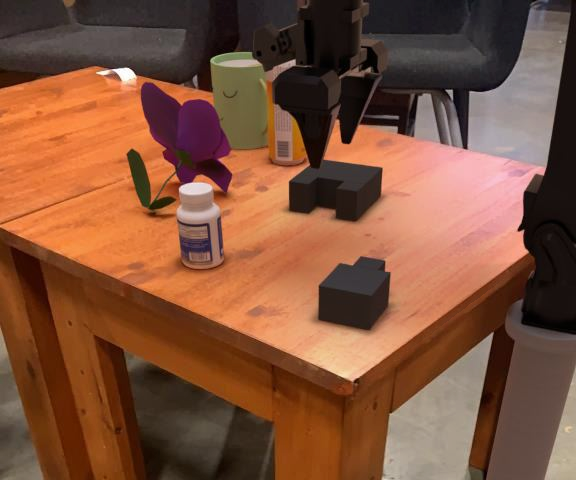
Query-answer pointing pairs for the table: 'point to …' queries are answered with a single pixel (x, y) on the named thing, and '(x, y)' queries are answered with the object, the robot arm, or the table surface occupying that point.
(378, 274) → the black block
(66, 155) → the table surface
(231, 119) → the mug
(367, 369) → the table surface
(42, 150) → the table surface
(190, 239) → the pill bottle
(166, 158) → the flower
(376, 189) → the black notched block
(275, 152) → the beer can
